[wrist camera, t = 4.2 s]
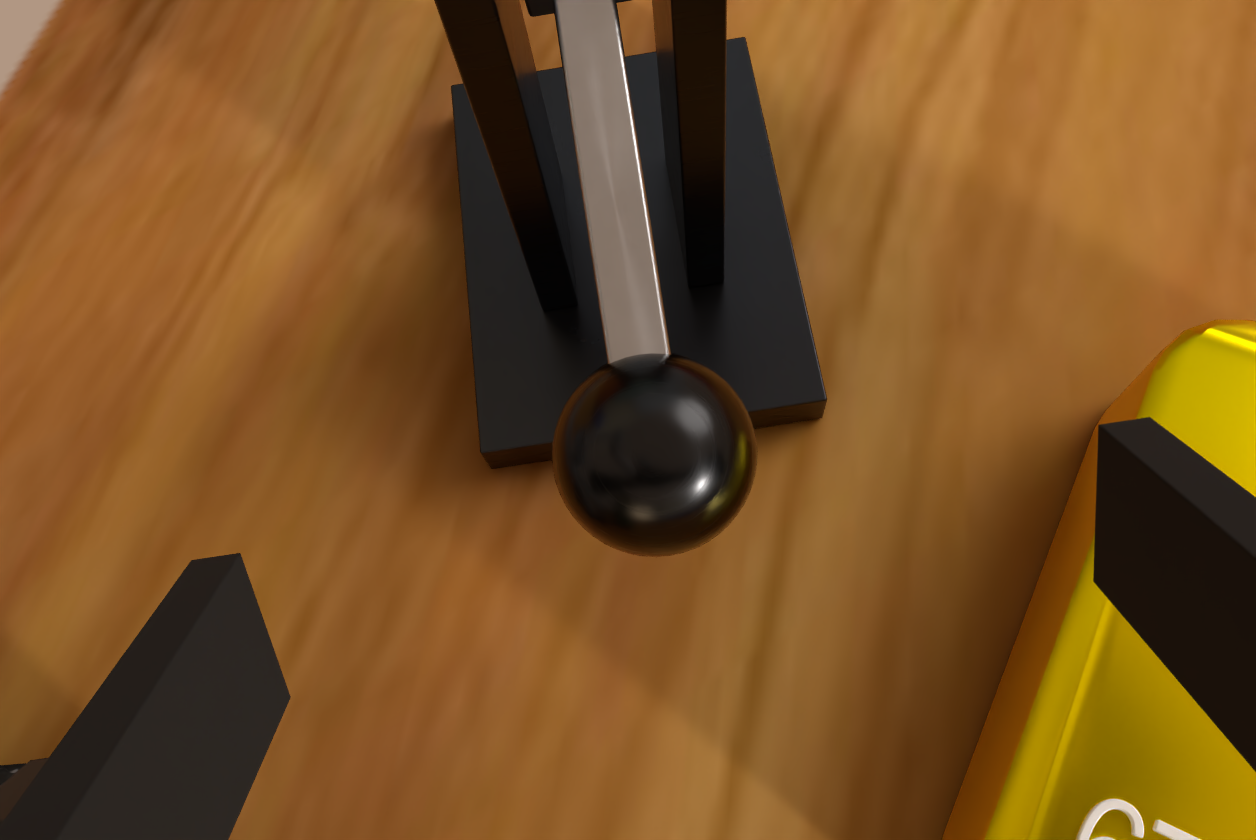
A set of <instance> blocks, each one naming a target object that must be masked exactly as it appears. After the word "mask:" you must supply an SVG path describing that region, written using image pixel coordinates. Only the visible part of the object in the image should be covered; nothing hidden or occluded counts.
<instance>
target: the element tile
mask: <svg viewBox="0 0 1256 840" xmlns="http://www.w3.org/2000/svg"><path fill="white" fill-rule="evenodd" d="M1147 417H1151V418H1152V419H1153V420H1154V421H1156V422H1157V423H1158V424H1160V425H1161V426H1162V427H1164V428H1165V429H1166V430H1168V431H1169V432H1170V433H1172V434H1173V435H1174V436H1176V437H1177V438H1178V439H1180V440H1181V441H1182V442H1184V443H1185V444H1186V445H1188V446H1189V447H1190V448H1192V449H1193V450H1194V451H1195V452H1197V453H1198V454H1199V455H1201V456H1202V457H1203V458H1205V459H1206V460H1207V461H1209V462H1210V463H1211V464H1213V465H1214V466H1215V467H1217V468H1218V469H1219V470H1221V471H1222V472H1223V473H1225V474H1226V475H1227V476H1229V477H1230V478H1231V479H1232V480H1234V481H1235V482H1236V483H1238V484H1239V485H1240V486H1242V487H1243V488H1244V489H1246V490H1247V491H1248V492H1250V493H1251V494H1252V495H1254V496H1255V497H1256V321H1252V320H1214V321H1211V322H1208V323H1205V324H1202V325H1199V326H1196V327H1193V328H1190V329H1187V330H1185V331H1183V332H1182V333H1181V334H1180V335H1179V336H1178V337H1176V338H1175V339H1174V340H1173V341H1172V342H1171V343H1170V344H1169V345H1168V346H1166V347H1165V348H1164V349H1163V350H1162V351H1161V352H1160V353H1159V354H1158V355H1157V356H1156V357H1155V358H1154V359H1153V361H1152V362H1151V363H1150V364H1149V365H1148V366H1147V367H1146V368H1145V369H1144V370H1143V371H1142V372H1141V373H1140V374H1139V375H1138V377H1137V378H1136V379H1135V380H1134V381H1133V382H1132V383H1131V384H1130V385H1129V386H1128V387H1127V388H1126V389H1125V390H1124V392H1123V393H1122V394H1121V395H1120V396H1119V397H1118V398H1117V399H1116V400H1115V401H1114V402H1113V403H1112V404H1111V405H1110V406H1109V408H1108V409H1107V410H1106V411H1105V412H1104V414H1103V416H1102V417H1101V419H1100V421H1099V422H1098V424H1097V425H1096V427H1095V429H1094V432H1093V434H1092V437H1091V440H1090V442H1089V445H1088V448H1087V450H1086V453H1085V456H1084V458H1083V461H1082V464H1081V466H1080V469H1079V472H1078V474H1077V477H1076V480H1075V483H1074V485H1073V488H1072V491H1071V493H1070V496H1069V499H1068V501H1067V504H1066V507H1065V509H1064V512H1063V515H1062V517H1061V520H1060V523H1059V525H1058V528H1057V531H1056V533H1055V536H1054V539H1053V542H1052V544H1051V547H1050V550H1049V552H1048V555H1047V558H1046V560H1045V563H1044V566H1043V568H1042V571H1041V574H1040V576H1039V579H1038V582H1037V584H1036V587H1035V590H1034V592H1033V595H1032V598H1031V601H1030V603H1029V606H1028V609H1027V611H1026V614H1025V617H1024V619H1023V622H1022V625H1021V627H1020V630H1019V633H1018V635H1017V638H1016V641H1015V643H1014V646H1013V649H1012V651H1011V654H1010V657H1009V660H1008V662H1007V665H1006V668H1005V670H1004V673H1003V676H1002V678H1001V681H1000V684H999V686H998V689H997V692H996V694H995V697H994V700H993V702H992V705H991V708H990V710H989V713H988V716H987V719H986V721H985V724H984V727H983V729H982V732H981V735H980V737H979V740H978V743H977V745H976V748H975V751H974V753H973V756H972V759H971V761H970V764H969V767H968V770H967V772H966V775H965V778H964V780H963V783H962V786H961V788H960V791H959V794H958V796H957V799H956V802H955V804H954V807H953V810H952V812H951V815H950V818H949V820H948V823H947V826H946V829H945V831H944V834H943V837H942V840H1256V772H1255V771H1254V770H1253V768H1252V767H1251V766H1250V765H1249V764H1248V763H1247V761H1246V760H1245V759H1244V758H1243V757H1242V756H1241V754H1240V753H1239V752H1238V751H1237V750H1236V749H1235V747H1234V746H1233V745H1232V744H1231V743H1230V741H1229V740H1228V739H1227V738H1226V737H1225V736H1224V734H1223V733H1222V732H1221V731H1220V730H1219V729H1218V727H1217V726H1216V725H1215V724H1214V723H1213V722H1212V720H1211V719H1210V718H1209V717H1208V716H1207V714H1206V713H1205V712H1204V711H1203V710H1202V709H1201V707H1200V706H1199V705H1198V704H1197V703H1196V702H1195V700H1194V699H1193V698H1192V697H1191V696H1190V695H1189V693H1188V692H1187V691H1186V690H1185V689H1184V687H1183V686H1182V685H1181V684H1180V683H1179V682H1178V680H1177V679H1176V678H1175V677H1174V676H1173V675H1172V673H1171V672H1170V671H1169V670H1168V669H1167V668H1166V666H1165V665H1164V664H1163V663H1162V662H1161V660H1160V659H1159V658H1158V657H1157V656H1156V655H1155V653H1154V652H1153V651H1152V650H1151V649H1150V648H1149V646H1148V645H1147V644H1146V643H1145V642H1144V640H1143V639H1142V638H1141V637H1140V636H1139V635H1138V633H1137V632H1136V631H1135V630H1134V629H1133V628H1132V626H1131V625H1130V624H1129V623H1128V622H1127V621H1126V619H1125V618H1124V617H1123V616H1122V615H1121V613H1120V612H1119V611H1118V610H1117V609H1116V608H1115V606H1114V605H1113V604H1112V603H1111V602H1110V601H1109V599H1108V598H1107V597H1106V596H1105V595H1104V594H1103V592H1102V591H1101V590H1100V589H1099V588H1098V586H1097V585H1096V584H1095V583H1094V582H1093V573H1094V542H1095V512H1096V482H1097V451H1098V425H1100V424H1107V423H1114V422H1120V421H1127V420H1134V419H1140V418H1147Z"/></svg>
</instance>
